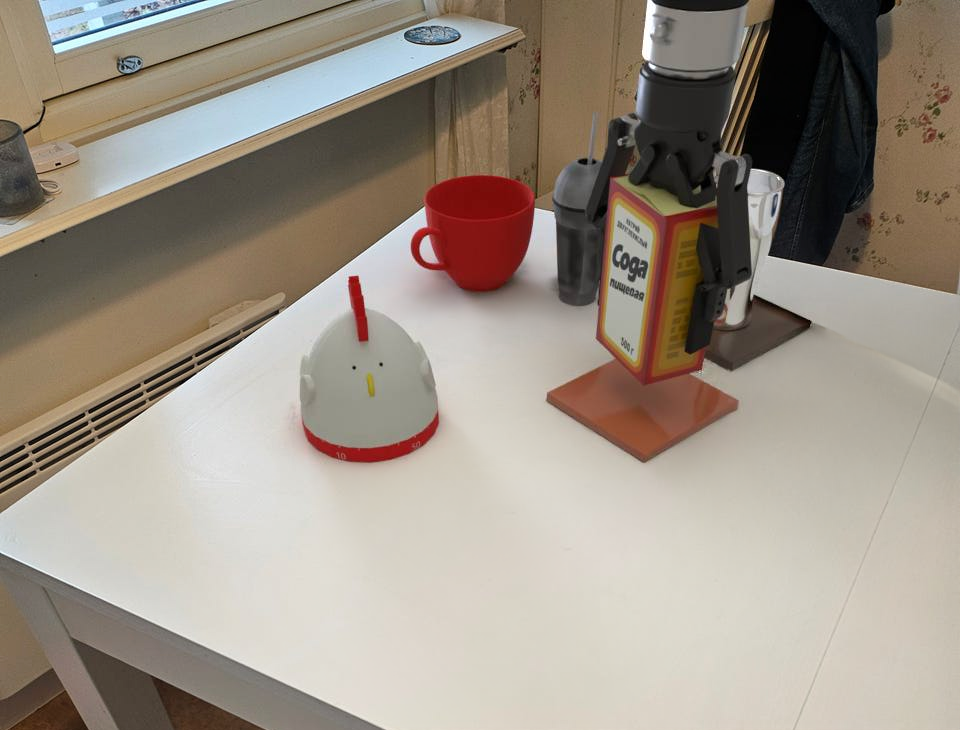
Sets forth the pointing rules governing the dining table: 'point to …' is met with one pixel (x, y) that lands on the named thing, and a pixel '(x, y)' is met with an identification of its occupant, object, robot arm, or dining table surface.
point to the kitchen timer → (367, 387)
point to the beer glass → (754, 245)
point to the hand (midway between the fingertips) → (651, 324)
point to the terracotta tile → (641, 407)
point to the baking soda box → (650, 279)
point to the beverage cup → (577, 230)
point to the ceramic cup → (477, 229)
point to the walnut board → (755, 334)
